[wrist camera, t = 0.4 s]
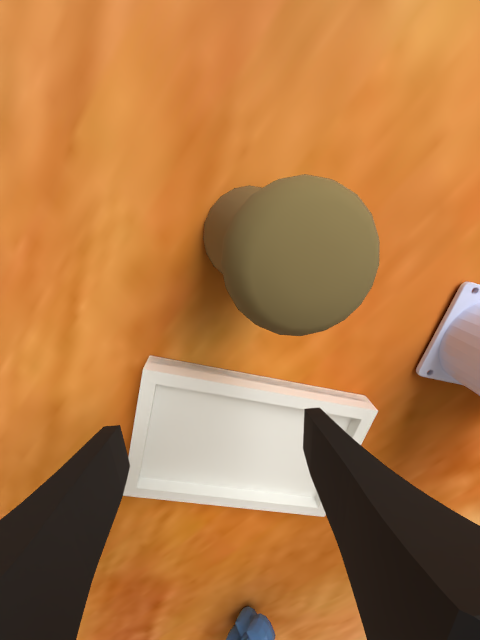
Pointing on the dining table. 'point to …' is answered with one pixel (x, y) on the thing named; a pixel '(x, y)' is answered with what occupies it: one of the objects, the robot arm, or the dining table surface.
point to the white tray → (230, 437)
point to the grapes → (251, 627)
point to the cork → (294, 252)
